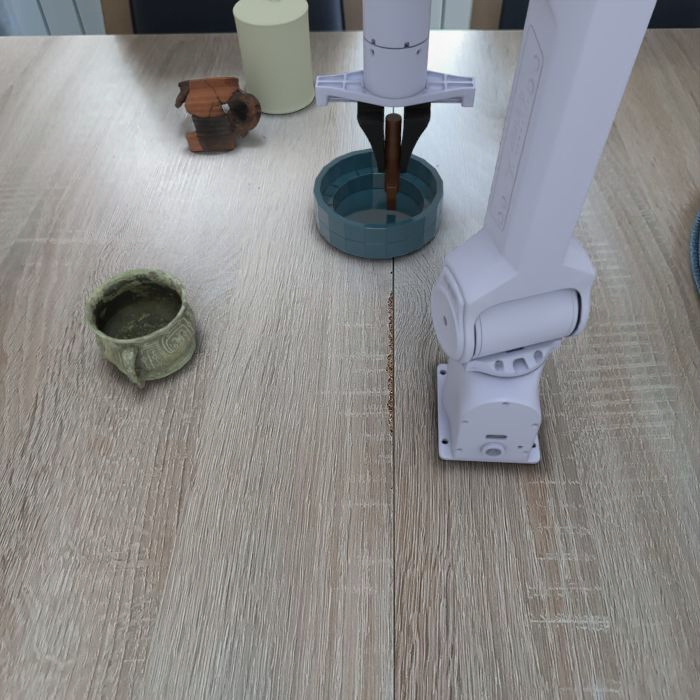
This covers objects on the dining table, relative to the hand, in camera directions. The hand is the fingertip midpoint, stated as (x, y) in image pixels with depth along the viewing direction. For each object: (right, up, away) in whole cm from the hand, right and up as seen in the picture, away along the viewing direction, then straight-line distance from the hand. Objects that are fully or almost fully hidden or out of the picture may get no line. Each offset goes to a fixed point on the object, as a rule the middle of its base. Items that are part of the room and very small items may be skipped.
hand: (392, 167), depth 67 cm
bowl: (-1, -4, +5) cm, 7 cm away
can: (-14, +15, +21) cm, 30 cm away
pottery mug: (-20, +9, +16) cm, 27 cm away
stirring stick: (0, -3, +3) cm, 4 cm away
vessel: (-22, -19, -6) cm, 30 cm away
